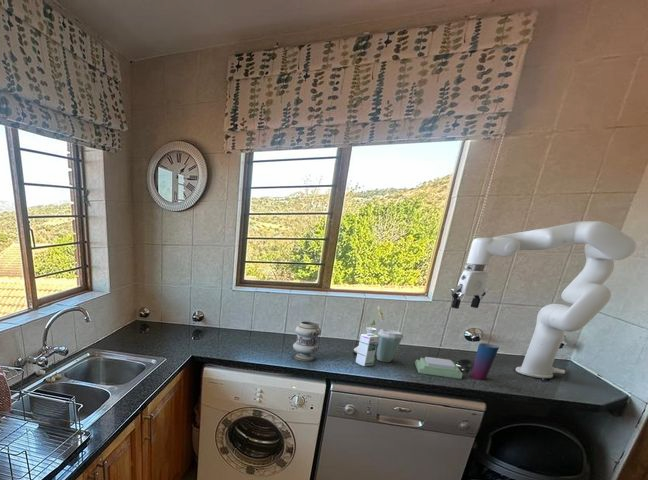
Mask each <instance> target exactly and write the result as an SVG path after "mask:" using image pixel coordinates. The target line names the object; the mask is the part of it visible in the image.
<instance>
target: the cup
mask: <svg viewBox="0 0 648 480" xmlns="http://www.w3.org/2000/svg"><path fill="white" fill-rule="evenodd" d="M499 349H500V346H499V345H498V344H493V343H487V342H479V343H478V346H477V350H476V354H475V359H474V363H473V367H472V372H471V374H470V375H471V376H470V377H471V378H472V379H474V380H478V381H485V380H486V379H487V376H488V374H489V373H490V370H491V367H492V365H493V362H495V361H494V360H495V358H496V357H497V356H496V355H497V353H498V351H499Z"/></svg>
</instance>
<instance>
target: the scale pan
mask: <svg viewBox="0 0 648 480" xmlns="http://www.w3.org/2000/svg"><path fill="white" fill-rule="evenodd" d="M424 358H425V362H426V364H427V366H435V367H442V368H450V369H455V366H454V364H455V363H454V364H453V363H452V362H453V361H452V359H448V358H438V357H431V356H425V357H424Z"/></svg>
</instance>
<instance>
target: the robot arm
mask: <svg viewBox="0 0 648 480" xmlns="http://www.w3.org/2000/svg"><path fill="white" fill-rule="evenodd" d="M579 244H583V245H584V249H583V250H584V251H583V252H584V255H585V260H586V261H585V264H584V266H583V269H582V270H581V271H580V272H579V273H578V274H577V275H576V276H575V277H574V279H572V281H571V282H570V283H569V284H568V285H567V286H566V287H565V288H564V289H563V291H562V292H561V296H560V297H561V300H562V301H564V302H565V303H568V304H571V306H570V305H566V304H561V303H550V304H546V305H544V306H543V307H542V308H541V309H540V310H539V311H538V313H537V316H536V321H535V328H534V331H533V333H532V337H531V339H530V342H529V345H528V347H527V349H526V350H527V351H526V354H525V355H524V359H523V361H522V364H521V366H516V367H515V372H517V373H519V374H520V375H524V376H528V377H531V378H537V379H552V378H553V377H554V374H559V375H564V374H565V373H566V370H565V369H561V368H559V367H554V366H553V364H554V362H555V359H556V357H557V354H558V352H559V350H560V347H561V344H562V342H563V340H564V335H565V332H567V333H571V332H576V331H579V330H581V329H583V328H584V327H585V326H586V325H588V324H589V323H590V322H591V321H592V320H593V319H594V318H595V317H596V316H597V315H598V314H599V313H600V312H601V311H602V310H603V309H604V308H605V307H606V306H607V305H608V303H609V302H610V300H611V297H612V292H611V289H610V288H609V287H608V286H606V285H604V284H605V282H606V281H607V280H608V279H609V278H610V277H611V275H612V274H613V272H614V268H615V261H621V260H625V259H628V258H629V257H631V256H632V255H633V254H634V253H635V252H636V250H637V242H636V240H635V239H634V238H633V237H632V236H630V235H628V234H627V233H624V232H623V231H621V230H620V229H618V228H617V227H615V226H613V225H612V224H610V223H608V222H605V221H602V220H580V221H573V222H569V223H565V224H560V225H559V224H558V225H554V226H549V227H544V228H538V229H531V230H526V231H519V232H513V233H507V234H502V235H496V236H493V237H475V238H474V239H473V240H472V242H471V246H470V250H469V254H468V256H467V260H466V264H465V266H464V270H463V271H462V273H461V275H460V277H459V280H458V283H457V285H456V286H454V287H453V288H451V289H450V291H451V296H452V299H453V300H452V304H451V308H452V309H456V310H458V309H459V308H460V305H461V301H462V298H463V297H464V296H466V297H467V296H468V297H469V296H470V297H471V296H472V299H471V303H470V307H471V308H474V309H479V306H480V303H481V300H482V299H483V298H484V296H486V293H488V292H489V288H488V287H487V282H488V278H489V277H488V275H489V271H488V267H489V264H490V261H491V258H492V256H496V257H501V258H506V257H512V256H514V255H516V254H517V253H518V252H519V251H545V250H549V249H550V250H551V249H555V248H560V247H566V246H571V245H579Z"/></svg>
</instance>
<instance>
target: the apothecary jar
mask: <svg viewBox="0 0 648 480" xmlns="http://www.w3.org/2000/svg"><path fill="white" fill-rule="evenodd" d="M319 326H320V325H319V322H316V321H313V320H302V321H300V322H299V325H297V326H296V327H295V329H294V330H295V333H296V334H297V335H296V340H295V342H294V343H293V344H292V348H293V350H294V352H297V353H296V354H295V355H293V358H294V359H296V360H297V361H301V362H313V361H315V359H316V357H315V356H314V355H312V354H316V353H317V352H319V349H320V346H319V344H318V338H319V336H320V335H321V334H322V329H321V328H320V327H319Z"/></svg>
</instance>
